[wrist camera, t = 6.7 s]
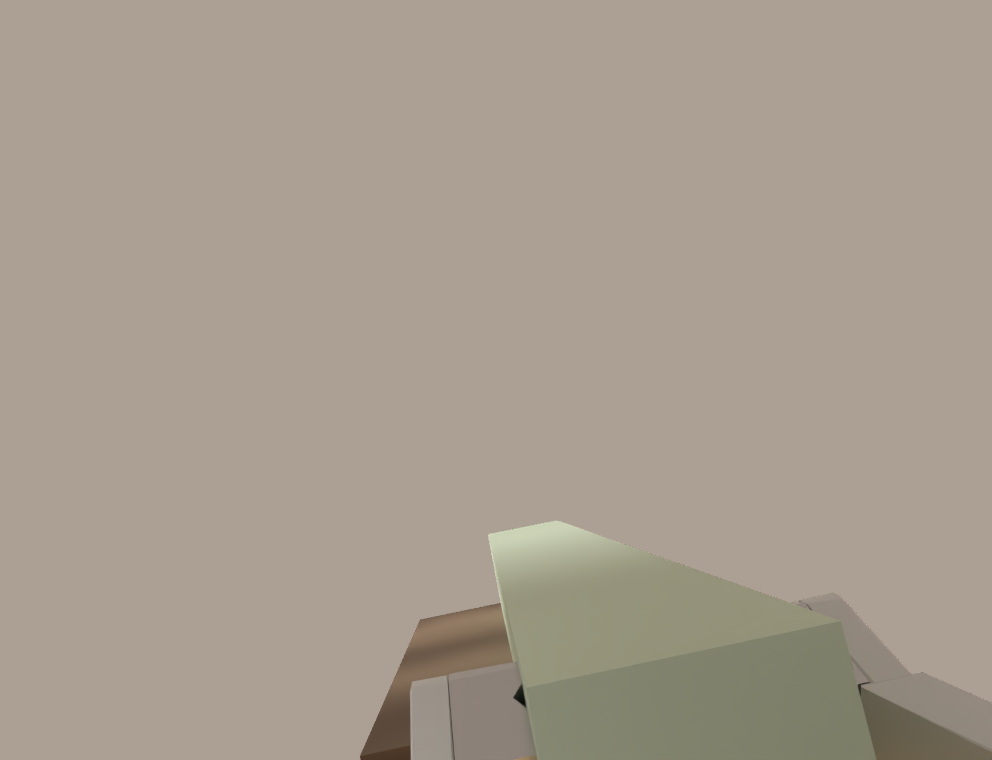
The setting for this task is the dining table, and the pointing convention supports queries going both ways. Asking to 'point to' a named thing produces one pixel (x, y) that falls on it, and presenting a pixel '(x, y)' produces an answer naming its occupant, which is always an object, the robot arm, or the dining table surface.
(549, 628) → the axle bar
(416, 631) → the walnut stand
